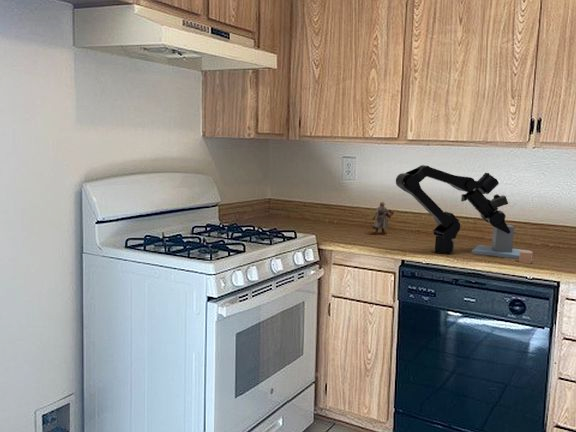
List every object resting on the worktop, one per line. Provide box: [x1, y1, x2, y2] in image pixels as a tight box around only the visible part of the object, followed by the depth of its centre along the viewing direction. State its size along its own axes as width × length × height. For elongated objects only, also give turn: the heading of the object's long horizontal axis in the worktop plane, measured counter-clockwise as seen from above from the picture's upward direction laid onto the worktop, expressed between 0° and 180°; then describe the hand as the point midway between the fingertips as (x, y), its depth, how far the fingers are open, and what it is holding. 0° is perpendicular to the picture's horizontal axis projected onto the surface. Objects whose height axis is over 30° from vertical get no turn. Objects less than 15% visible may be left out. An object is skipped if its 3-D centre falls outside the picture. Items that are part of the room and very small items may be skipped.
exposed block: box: [518, 249, 534, 265], centre depth 206 cm, size 4×4×4 cm
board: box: [471, 244, 531, 260], centre depth 222 cm, size 20×14×1 cm
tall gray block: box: [491, 224, 515, 252], centre depth 221 cm, size 6×6×10 cm
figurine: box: [370, 201, 395, 235], centre depth 260 cm, size 14×7×15 cm, turn 111°
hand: (506, 231), depth 220 cm, fingers open, 9 cm apart
